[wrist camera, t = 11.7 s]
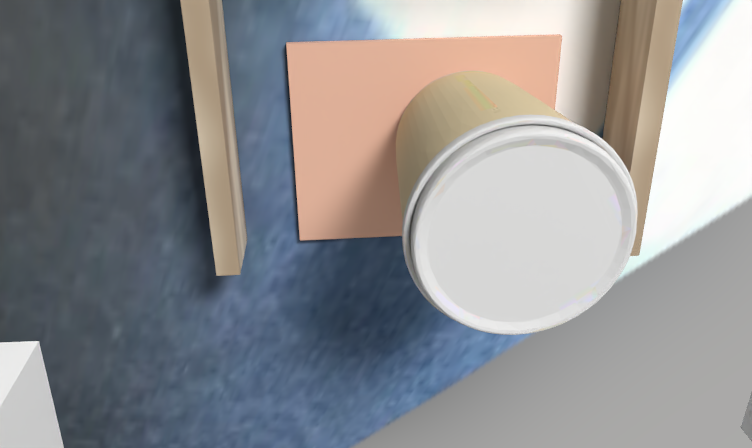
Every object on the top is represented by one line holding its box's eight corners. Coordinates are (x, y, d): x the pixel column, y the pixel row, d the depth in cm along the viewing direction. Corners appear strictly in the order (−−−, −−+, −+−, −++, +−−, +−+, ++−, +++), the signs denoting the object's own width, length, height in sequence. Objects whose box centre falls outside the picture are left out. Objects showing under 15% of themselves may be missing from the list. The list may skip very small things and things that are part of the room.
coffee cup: (513, 235, 40) (585, 361, 29) (358, 196, 38) (374, 315, 28) (578, 81, 37) (688, 161, 26) (411, 30, 35) (453, 93, 24)
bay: (225, 240, 39) (198, 344, 30) (163, -276, 29) (92, -351, 20) (610, 223, 41) (693, 317, 32) (684, -277, 30) (838, -348, 21)
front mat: (300, 237, 40) (299, 240, 39) (286, 42, 35) (286, 43, 35) (540, 226, 41) (542, 229, 40) (559, 34, 36) (562, 35, 35)
